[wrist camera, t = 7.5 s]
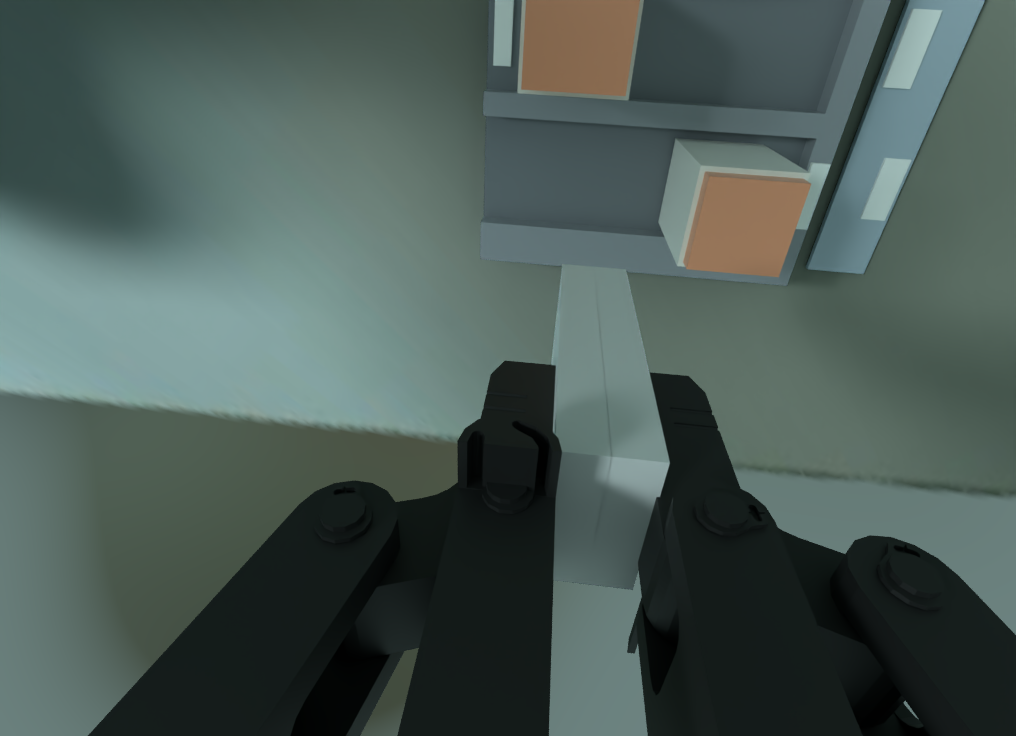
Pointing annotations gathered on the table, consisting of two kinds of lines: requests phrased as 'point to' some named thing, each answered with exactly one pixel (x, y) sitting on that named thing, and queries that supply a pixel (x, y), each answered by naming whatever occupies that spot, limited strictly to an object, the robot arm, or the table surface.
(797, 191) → the orange topped white block
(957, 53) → the label card
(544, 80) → the orange-topped white block
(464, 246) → the table surface
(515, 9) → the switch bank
